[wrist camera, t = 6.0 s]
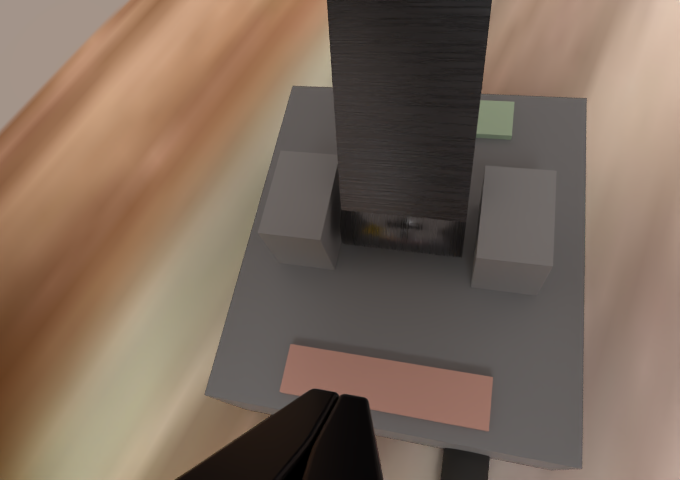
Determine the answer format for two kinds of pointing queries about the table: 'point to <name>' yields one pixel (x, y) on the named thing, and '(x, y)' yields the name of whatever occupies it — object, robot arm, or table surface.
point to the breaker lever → (406, 118)
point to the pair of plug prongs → (464, 465)
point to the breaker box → (424, 293)
